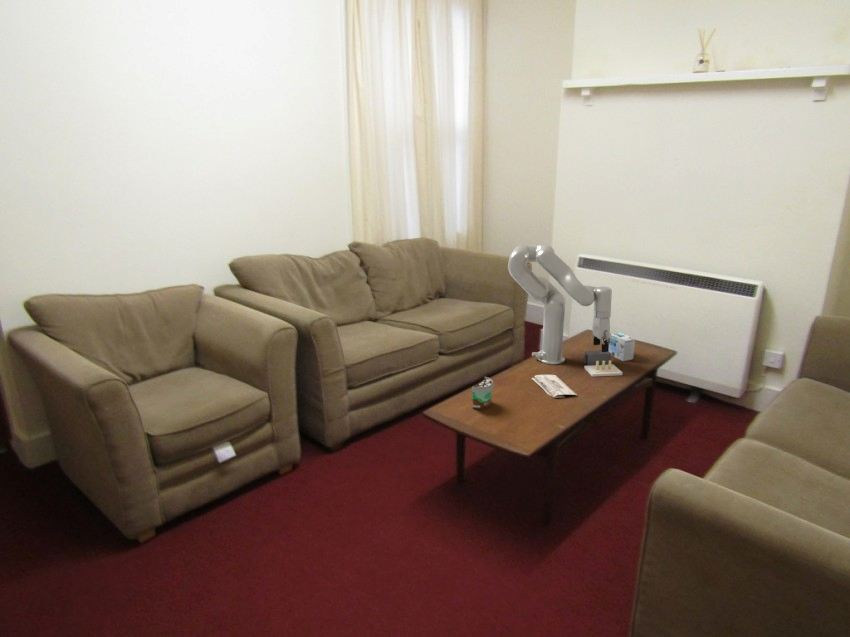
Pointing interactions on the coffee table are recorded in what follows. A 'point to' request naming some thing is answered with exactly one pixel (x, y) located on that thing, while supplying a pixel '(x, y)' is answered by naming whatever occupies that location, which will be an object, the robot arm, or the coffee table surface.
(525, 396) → the coffee table surface
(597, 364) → the board
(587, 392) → the coffee table surface
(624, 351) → the light bulb box
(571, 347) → the coffee table surface
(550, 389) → the newspaper
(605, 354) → the block
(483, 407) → the food container
